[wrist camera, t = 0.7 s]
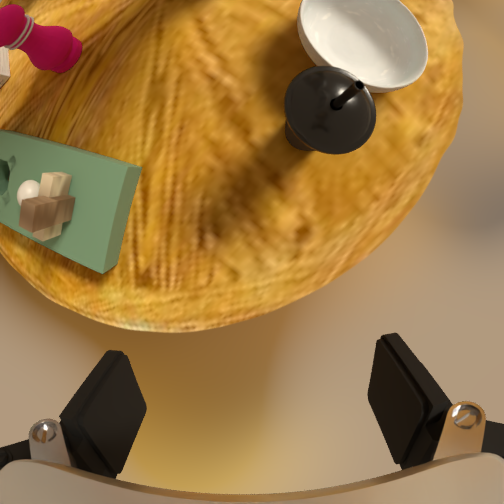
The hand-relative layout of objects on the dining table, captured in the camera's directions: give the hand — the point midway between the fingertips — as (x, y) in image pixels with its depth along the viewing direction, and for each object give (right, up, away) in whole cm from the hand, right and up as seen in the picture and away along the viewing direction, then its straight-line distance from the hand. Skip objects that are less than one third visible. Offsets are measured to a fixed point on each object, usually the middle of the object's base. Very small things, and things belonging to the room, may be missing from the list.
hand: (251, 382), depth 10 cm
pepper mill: (-29, +35, +20) cm, 50 cm away
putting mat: (-31, +14, +25) cm, 42 cm away
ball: (-29, +12, +19) cm, 37 cm away
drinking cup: (+6, +19, +24) cm, 31 cm away
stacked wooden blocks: (-24, +11, +21) cm, 34 cm away
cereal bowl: (+14, +32, +20) cm, 41 cm away
